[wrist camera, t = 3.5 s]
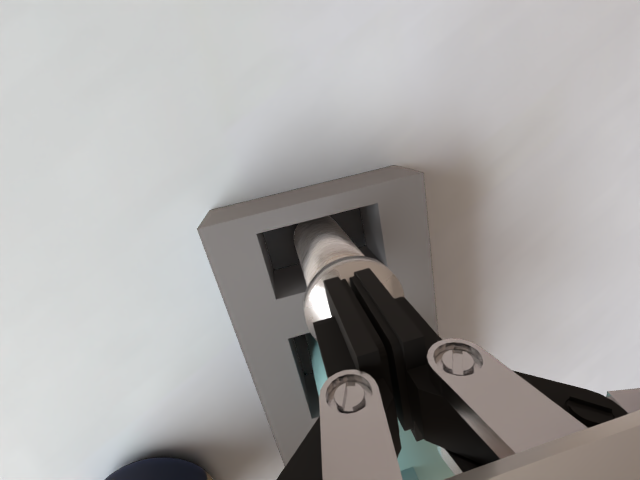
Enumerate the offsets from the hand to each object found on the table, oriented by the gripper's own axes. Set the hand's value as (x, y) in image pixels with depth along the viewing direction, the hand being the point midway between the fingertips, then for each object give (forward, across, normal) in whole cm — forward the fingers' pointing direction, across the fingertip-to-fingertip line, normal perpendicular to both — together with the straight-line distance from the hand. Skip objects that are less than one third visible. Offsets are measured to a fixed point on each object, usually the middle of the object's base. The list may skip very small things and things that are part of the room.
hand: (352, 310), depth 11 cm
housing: (+10, 0, +8) cm, 13 cm away
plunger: (+9, 0, 0) cm, 9 cm away
